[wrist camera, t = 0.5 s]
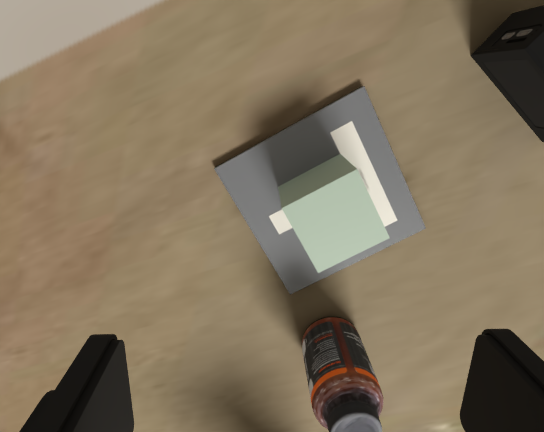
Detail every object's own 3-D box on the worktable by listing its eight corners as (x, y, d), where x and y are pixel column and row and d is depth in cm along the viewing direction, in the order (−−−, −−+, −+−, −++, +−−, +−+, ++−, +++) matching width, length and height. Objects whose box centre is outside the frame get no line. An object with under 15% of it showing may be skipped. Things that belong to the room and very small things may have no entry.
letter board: (362, 86, 32) (364, 86, 31) (423, 226, 36) (425, 228, 35) (215, 167, 34) (214, 168, 33) (289, 291, 38) (290, 294, 37)
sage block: (340, 153, 33) (357, 169, 27) (368, 212, 35) (389, 238, 29) (277, 186, 34) (281, 208, 28) (308, 242, 36) (318, 273, 30)
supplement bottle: (290, 349, 40) (301, 446, 29) (320, 305, 38) (343, 391, 28) (338, 370, 41) (366, 472, 31) (369, 329, 40) (410, 420, 29)
